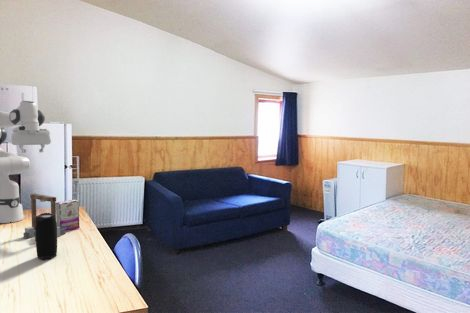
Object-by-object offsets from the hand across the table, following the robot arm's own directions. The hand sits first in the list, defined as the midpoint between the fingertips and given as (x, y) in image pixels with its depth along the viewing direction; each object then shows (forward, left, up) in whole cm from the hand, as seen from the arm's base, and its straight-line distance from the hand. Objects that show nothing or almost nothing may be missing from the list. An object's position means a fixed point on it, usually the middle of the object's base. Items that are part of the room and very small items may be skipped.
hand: (32, 152), depth 207 cm
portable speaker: (+51, -27, -43) cm, 72 cm away
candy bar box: (+23, +5, -43) cm, 49 cm away
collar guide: (+23, -9, -43) cm, 49 cm away
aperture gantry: (+23, -10, -43) cm, 49 cm away
